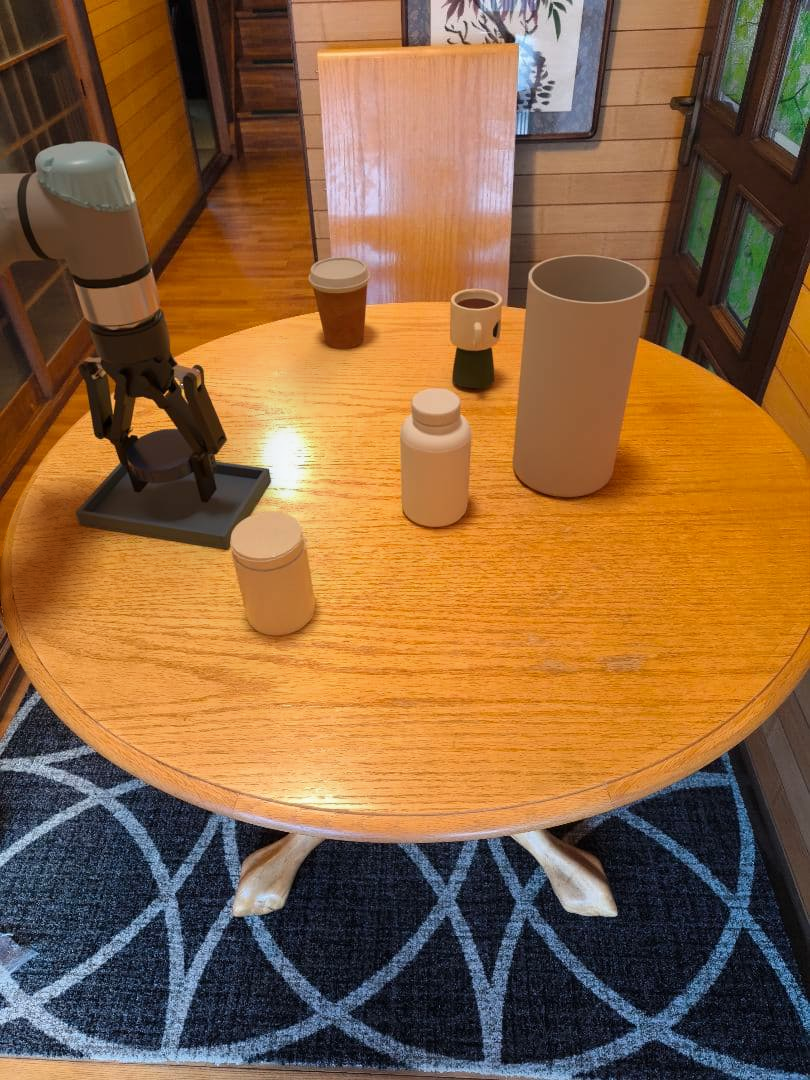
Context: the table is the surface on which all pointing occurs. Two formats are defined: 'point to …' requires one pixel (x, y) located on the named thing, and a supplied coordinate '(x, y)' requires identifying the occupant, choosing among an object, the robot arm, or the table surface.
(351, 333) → the disposable coffee cup
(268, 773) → the table surface
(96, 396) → the robot arm
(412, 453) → the pill bottle
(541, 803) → the table surface
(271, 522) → the jar
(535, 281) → the cylinder vase
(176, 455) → the lid
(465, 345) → the character mug
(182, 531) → the tray
